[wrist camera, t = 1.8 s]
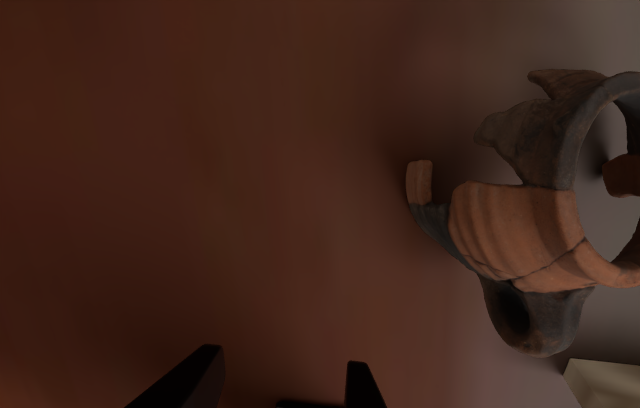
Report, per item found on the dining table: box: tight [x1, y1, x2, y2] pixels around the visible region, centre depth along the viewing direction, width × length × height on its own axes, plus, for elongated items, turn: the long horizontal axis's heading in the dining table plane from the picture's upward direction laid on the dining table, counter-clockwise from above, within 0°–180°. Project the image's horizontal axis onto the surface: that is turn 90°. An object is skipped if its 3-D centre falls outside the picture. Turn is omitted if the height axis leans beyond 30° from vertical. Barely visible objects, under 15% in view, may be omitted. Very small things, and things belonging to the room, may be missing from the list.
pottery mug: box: [406, 69, 640, 358], centre depth 16 cm, size 12×10×8 cm
